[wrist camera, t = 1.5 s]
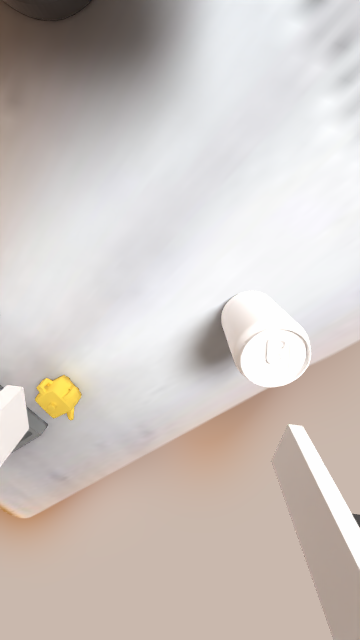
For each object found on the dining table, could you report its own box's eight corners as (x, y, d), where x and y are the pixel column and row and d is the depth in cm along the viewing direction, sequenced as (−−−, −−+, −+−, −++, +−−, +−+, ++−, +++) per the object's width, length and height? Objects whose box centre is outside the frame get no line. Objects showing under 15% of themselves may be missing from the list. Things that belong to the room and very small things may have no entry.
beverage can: (219, 339, 37) (233, 390, 26) (221, 289, 34) (238, 323, 23) (271, 339, 37) (307, 391, 26) (279, 289, 33) (324, 323, 22)
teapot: (96, 396, 42) (85, 418, 37) (71, 407, 43) (57, 431, 38) (67, 362, 39) (51, 382, 35) (41, 376, 41) (22, 397, 36)
